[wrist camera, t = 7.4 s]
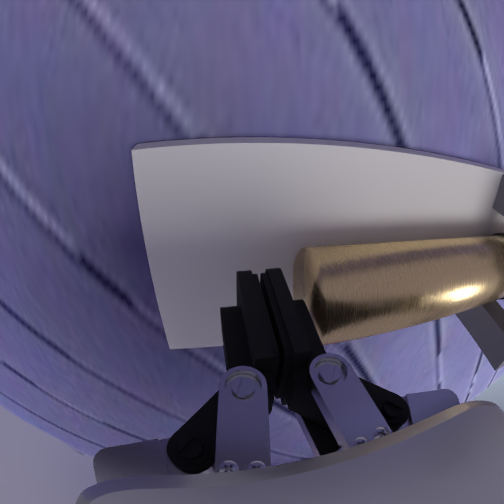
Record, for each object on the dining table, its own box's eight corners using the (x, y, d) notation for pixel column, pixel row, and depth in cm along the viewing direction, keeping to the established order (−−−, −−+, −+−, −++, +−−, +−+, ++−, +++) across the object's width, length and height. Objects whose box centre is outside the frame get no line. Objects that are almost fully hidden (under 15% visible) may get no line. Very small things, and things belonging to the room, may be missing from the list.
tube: (541, 221, 16) (571, 248, 12) (524, 261, 18) (550, 289, 15) (298, 223, 12) (338, 293, 9) (287, 300, 15) (313, 371, 11)
